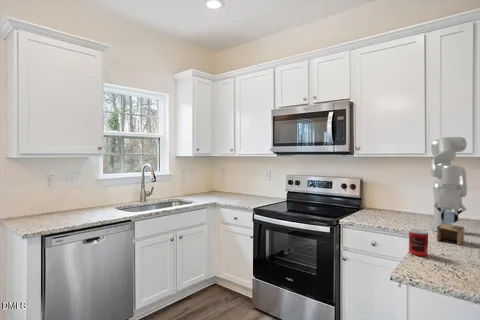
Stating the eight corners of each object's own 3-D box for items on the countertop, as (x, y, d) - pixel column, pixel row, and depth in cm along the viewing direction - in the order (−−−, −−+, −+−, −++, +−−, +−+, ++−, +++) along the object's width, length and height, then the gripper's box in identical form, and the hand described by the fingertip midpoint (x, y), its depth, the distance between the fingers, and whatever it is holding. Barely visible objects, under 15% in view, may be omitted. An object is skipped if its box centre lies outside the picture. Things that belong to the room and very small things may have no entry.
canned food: (420, 251, 145) (421, 229, 145) (431, 257, 137) (432, 233, 137) (404, 251, 145) (405, 228, 144) (415, 257, 137) (415, 233, 136)
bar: (446, 219, 172) (446, 210, 172) (456, 220, 169) (456, 211, 169) (443, 222, 162) (444, 212, 163) (453, 223, 160) (454, 214, 160)
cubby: (442, 237, 173) (442, 224, 173) (463, 241, 166) (463, 227, 166) (436, 241, 165) (437, 226, 165) (458, 245, 158) (459, 230, 158)
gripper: (471, 188, 159) (470, 223, 159) (434, 186, 172) (433, 217, 172) (468, 189, 154) (467, 224, 154) (430, 186, 167) (429, 219, 167)
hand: (449, 220), depth 163 cm, fingers closed on bar, 4 cm apart
